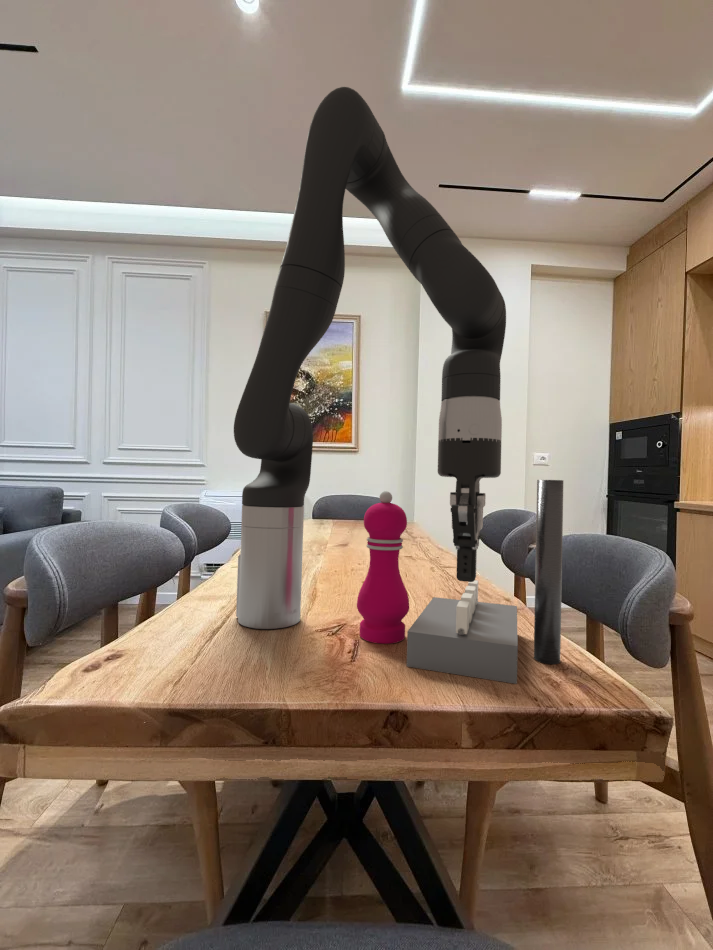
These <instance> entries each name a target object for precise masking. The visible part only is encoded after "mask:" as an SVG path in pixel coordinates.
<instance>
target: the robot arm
mask: <svg viewBox="0 0 713 950" xmlns="http://www.w3.org/2000/svg"><path fill="white" fill-rule="evenodd" d="M308 129H309V130H308V134H307V138H306V143H305V150H304V155H303V156H304V157H303V164H302V170H301V176H300V182H299V189H298V193H297V198H296V199H297V200H296V203H295V208H294V213H293V216H292V220H291V225H290V229H289V232H288V233H289V234H288V238H287V243H286V246H285V250H284V254H283V257H282V260H281V264H280V267H279V270H278V274H277V278H276V280H275V281H276V282H275V285H274V289H273V294H272V299H271V304H270V308H269V313H268V315H267V319H266V322H265V327H264V331H263V334H262V337H261V340H260V344H259V347H258V351H257V354H256V358H255V360H254V363H253V365H252V368H251V371H250V373H249V377H248V379H247V382H246V384H245V387H244V390H243V393H242V395H241V398H240V401H239V403H238V407H237V409H236V412H235V417H234V421H233V438H234V442H235V445H236V447H237V448H238V450H239V451H240V452H241V453H242V454H243V455H244V456H246V457H249V458H252V459H258V460H260V471H259V473H258V475H257V476H256V478H255V479H254V480H253V481H251V482H249V483H248V484H246V485H245V486H244V487H243V489H242V494H241V529H240V530H241V532H240V534H241V535H240V554H239V555H238V557H237V583H236V609H235V616H236V618H237V622H238V624H240V625H241V626H243V627H248V628H250V629H257V630H258V629H260V630H273V629H282V628H287V627H291V626H294V625H296V624H298V623H299V622H300V620H301V610H302V609H301V607H302V603H301V602H302V585H303V584H302V583H303V582H302V580H303V577H302V576H303V552H304V550H303V548H304V546H303V545H304V516H305V515H304V511H305V497H306V493H307V491H308V489H309V486H310V482H311V473H312V460H313V446H314V445H313V444H314V432H313V431H314V430H313V425H312V422H311V418H310V416H309V415H308V413H307V412H306V411H305V410H304V409H303V408H302V407H300V406H299V405H296V404H294V403H291V398H292V394H293V391H294V390H293V389H294V386H295V383H296V380H297V376H298V373H299V371H300V369H301V366H302V365H303V363H304V361H305V360H306V358H307V357H308V356H309V354H310V353H311V352H312V350H314V348H315V347H316V346H317V344H318V343H319V342H320V341H321V339H322V338H323V337H324V336H325V335H326V332H327V331H328V330H329V328H330V326H331V324H332V322H333V320H334V317H335V314H336V311H337V307H338V303H339V299H340V296H341V292H342V289H343V285H344V281H345V280H344V279H345V269H346V266H345V265H346V260H345V259H346V256H345V251H346V249H345V238H344V237H345V236H344V224H343V223H344V222H343V221H344V219H343V218H344V217H343V214H344V213H343V211H344V200H345V194H346V193H345V192H346V191H348V193H350V194H351V195H352V196H354V198H356V200H358V201H359V202H360V203H361V204H362V205H364V206H365V207H366V209H367V210H368V211H370V213H372V215H373V216H374V217H375V219H376V220H377V221H378V223H379V225H380V226H381V228H382V230H383V232H384V234H385V236H386V238H387V239H388V241H389V244H391V246H392V248H393V249H394V251H395V252H396V254H397V255H398V257H399V258H400V260H401V261H402V262H403V264H404V265H405V266H406V268H407V269H408V270H409V272H410V273H411V274H412V276H413V277H414V278H415V280H416V281H418V283H419V284H421V287H422V288H423V289H424V291H425V293H426V295H427V296H428V298H429V300H430V301H431V303H432V304H433V306H434V308H435V309H436V311H437V312H438V313H439V315H440V316H441V318H442V319H443V320H444V321H445V323H446V324H447V325H448V326H449V327H450V328H451V334H452V335H451V336H452V339H451V349H450V350H451V352H450V355H448V357H446V358H445V360H444V362H443V364H442V365H443V366H442V370H441V371H442V372H441V374H442V375H441V403H440V412H439V417H438V435H437V436H438V445H437V474H438V475H439V476H440V477H444V478H455V479H456V480H455V481H456V482H455V491H451V492H450V494H449V505H450V513H451V530H452V536H453V539H452V543H453V545H454V547H455V550H456V580H457V581H459V582H465V583H468V582H473V581H474V580H476V578H477V555H478V554H477V552H478V551H477V550H478V549H479V547H480V540H481V535H480V532H481V530H482V529H483V526H484V525H483V523H484V508H485V506H486V493H485V492H480V489H481V488H480V487H481V486H480V485H481V484H480V481H481V479H496V478H499V477H500V476H501V474H502V437H503V436H502V433H503V431H502V430H503V429H502V428H503V427H502V426H503V424H502V423H503V422H502V421H503V419H502V409H501V382H502V381H501V359H502V355H503V349H504V341H505V337H506V330H507V329H506V327H507V309H506V308H507V307H506V302H505V299H504V297H503V295H502V292H501V291H500V289H499V287H498V284H497V283H496V281H495V280H494V278H493V276H492V275H491V273H490V272H489V271H488V269H486V267H485V266H484V265H483V263H481V261H480V260H479V259H478V258H477V257H476V256H475V255H474V254H473V253H472V252H471V251H469V249H468V248H466V247H465V246H464V244H463V243H462V241H461V240H460V238H459V237H458V235H457V234H456V232H455V231H454V230H453V228H451V226H450V225H449V223H448V222H447V221H446V220H445V219H444V217H443V216H442V215H441V213H440V212H438V210H437V209H436V208H435V207H434V205H432V204H431V202H429V201H428V200H427V199H426V198H425V197H424V196H422V195H421V194H420V193H419V192H417V191H416V190H415V189H414V188H413V187H412V186H411V184H410V183H409V182H408V180H407V179H406V178H405V176H404V175H403V173H402V172H401V170H400V168H399V166H398V163H397V162H396V158H395V157H394V154H393V152H392V151H391V149H390V146H389V144H388V142H387V138H386V135H385V132H384V131H383V129H382V127H381V125H380V123H379V121H378V120H377V118H376V117H375V115H374V112H372V109H371V107H370V106H369V104H368V103H367V101H366V100H365V99H364V97H363V96H362V95H361V94H360V93H359V92H358V91H356V90H355V89H353V88H351V87H349V86H341V87H337V88H335V89H333V90H331V91H330V92H329V93H328V94H327V95H326V96H325V97H324V98H323V99H322V100H321V102H320V103H319V104H318V106H317V108H316V110H315V112H314V114H313V116H312V120H311V122H310V125H309V128H308Z"/></svg>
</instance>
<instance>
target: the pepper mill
mask: <svg viewBox="0 0 713 950" xmlns="http://www.w3.org/2000/svg"><path fill="white" fill-rule="evenodd" d="M392 500H393V495H392V493H391V492H389V491H387V490H386V491H385V490H384V491H382V492H381V493H380V494H379V501H380V502H378V503H375V504H374V503H373V504H372V505H371V506H369V507H368V508H367V510H366V511H365V513H364V517H363V527H364V529H365V531H366V532H367V533H368V535H369V536H368V537H367V538H366V541H367V543H366V548H368V549H369V567H368V569H367V574H366V577H365V579H364V581H363V583H362V584H361V587H360V588H359V592H358V595H357V600H356V609H357V611H358V613H359V614H360V615H361V617H362V618H363V619H362V620H361V621H360V622H359V636H360V638H361V639H362V640H364V641H367V642H369V643H372V644H373V643H374V644H380V645H381V644H384V645H385V644H386V645H391V644H396V643H399V642H402V641H404V639H405V638H406V624H405V622H404V621H403V619H404V618H405V617H406V616H407V614H408V613H409V611H410V599H409V595H408V591H407V589H406V587H405V584H404V581H403V578H402V576H401V572H400V568H399V567H400V566H399V557H400V551H401V550H402V549H403V548H404V547H403V542H404V539H403V538H401V536H402V535H403V533H404V532H405V531H406V530H407V527H408V526H407V525H408V517H407V514H406V512H405V511H404V509H403V508H402V507H401V506H399V505H398V504H396V503H393V502H392Z"/></svg>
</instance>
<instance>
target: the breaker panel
mask: <svg viewBox="0 0 713 950" xmlns="http://www.w3.org/2000/svg"><path fill="white" fill-rule="evenodd" d="M459 601H461V599H456V598H455V599H454V598H444V597H435V596H434V597H432V599H431V600H430V601H429V603H428V604H427V605H426V607H425V608H424V609H423V610H422V612H421V613H420V614H419V615H418V616H417V618H416V620H414V622H413V623H412V624H411V626H410V627H409V629H408V630H407V631H406V632H407V635H406V636H407V638H406V667H408V668H415V669H422V670H427V671H428V670H429V671H434V672H440V673H448V674H452V675H458V676H465V677H472V678H477V679H478V678H479V679H482V680H483V679H484V680H488V681H489V680H491V681H496V682H504V683H510V684H515V685H517V684H518V656H519V655H518V649H519V648H518V646H519V644H518V641H519V638H518V636H519V635H518V606H517V605H510V604H501V603H495V602H494V603H491V602H484V601H483V602H482V601H478V602H477V605H475V611H474V614H473V613H472V620H471V623H469V629H468V632H467V634H464V635H459V634H458V633H456V608H457V604H458V602H459Z"/></svg>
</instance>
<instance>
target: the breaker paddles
mask: <svg viewBox="0 0 713 950" xmlns="http://www.w3.org/2000/svg"><path fill="white" fill-rule="evenodd" d="M467 583H468V584H467V585H466V586H465V589H464V592H463V593H462V595H461V596H460V600H461V601H459V602H458V604H457V608H456V633H458V634H459V635H464V634H467V632H468V629H469V623H471V620H472V613H473V614H474V611H475V605H477V602H479V579H478V580H477V579H475V580H474V581H473V582H467Z"/></svg>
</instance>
